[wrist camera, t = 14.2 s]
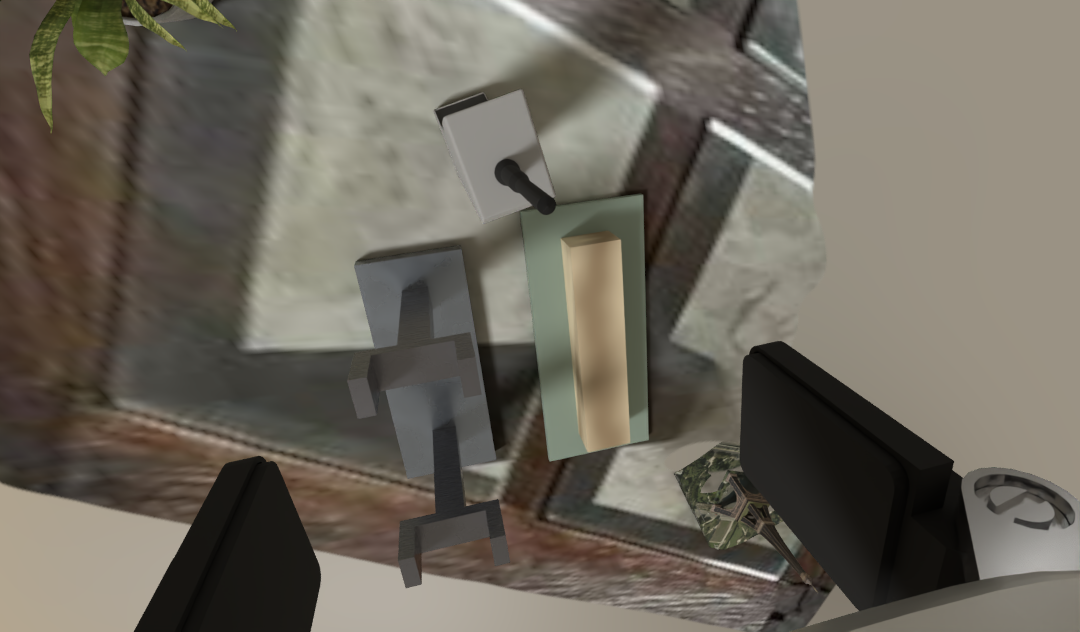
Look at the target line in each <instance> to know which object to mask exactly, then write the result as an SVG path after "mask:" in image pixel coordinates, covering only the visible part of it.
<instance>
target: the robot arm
mask: <svg viewBox="0 0 1080 632" xmlns="http://www.w3.org/2000/svg"><path fill="white" fill-rule="evenodd" d="M740 463H741V467H742V470H743V472H744V474H745V475H746V476H747V478H748V479H749V480H750V481H751V483H752V484H753V485H754V486H755V487H756V489H757V490H758V491H759V492H760V493H761V495H762V496H763V497H764V498H765V499H766V501H767V502H768V503H769V504H770V505H771V507H772V508H773V509H774V510H775V511H776V513H777V514H778V515H779V516H780V517H781V519H782V520H783V521H784V522H785V523H786V524H787V526H788V527H789V528H790V529H791V530H792V532H793V533H794V534H795V535H796V536H797V538H798V539H799V540H800V541H801V542H802V544H803V545H804V546H805V547H806V548H807V550H808V551H809V552H810V553H811V554H812V556H813V557H814V558H815V559H816V560H817V562H818V563H819V564H820V565H821V566H822V568H823V569H824V570H825V571H826V572H827V574H828V575H829V576H830V577H831V578H832V580H833V581H834V582H835V583H836V584H837V586H838V587H839V588H840V589H841V590H842V592H843V593H844V594H845V595H846V596H847V598H848V599H849V600H850V601H851V602H852V604H853V605H854V606H855V607H856V608H857V609H858V610H859V611H858V612H855V613H852V614H848V615H845V616H841V617H838V618H835V619H831V620H828V621H824V622H821V623H818V624H814V625H811V626H807V627H804V628H800V629H797V630H793V631H790V632H1080V502H1079V501H1078V500H1077V499H1076V498H1075V497H1074V496H1072V495H1071V494H1070V493H1069V492H1068V491H1066V490H1064V489H1062V488H1061V487H1059V486H1057V485H1055V484H1054V483H1052V482H1050V481H1048V480H1045V479H1042V478H1040V477H1037V476H1035V475H1032V474H1029V473H1025V472H1021V471H1017V470H1013V469H1006V468H996V467H991V468H980V469H977V470H974V471H971V472H969V473H968V474H967V475H966V476H965V477H964V478H962V477H961V476H960V475H958V474H957V473H955V472H954V471H953V470H952V468H953V463H954V461H953V460H952V459H950V458H949V457H947V456H946V455H944V454H943V453H942V452H940V451H939V450H937V449H936V448H934V447H933V446H932V445H930V444H929V443H927V442H926V441H924V440H923V439H922V438H920V437H919V436H917V435H916V434H914V433H913V432H912V431H910V430H908V429H907V428H906V427H904V426H903V425H902V424H900V423H899V422H897V421H896V420H894V419H893V418H891V417H890V416H889V415H887V414H886V413H884V412H883V411H882V410H880V409H879V408H877V407H876V406H874V405H873V404H871V403H870V402H868V401H867V400H866V399H864V398H863V397H862V396H860V395H859V394H857V393H856V392H854V391H853V390H851V389H850V388H849V387H847V386H846V385H844V384H843V383H841V382H840V381H839V380H837V379H836V378H834V377H833V376H832V375H830V374H829V373H827V372H826V371H824V370H823V369H821V368H820V367H819V366H817V365H816V364H814V363H813V362H811V361H810V360H809V359H807V358H806V357H804V356H803V355H801V354H800V353H799V352H797V351H796V350H794V349H793V348H791V347H790V346H789V345H787V344H786V343H784V342H782V341H777V342H772V343H767V344H763V345H758V346H754V347H753V348H751V350H750V353H749V355H746V356H745V357H744V359H743V376H742V406H741V435H740ZM320 582H321V573H320V566H319V563H318V561H317V558H316V556H315V553H314V551H313V549H312V546H311V544H310V542H309V539H308V537H307V534H306V532H305V530H304V527H303V525H302V523H301V520H300V518H299V515H298V513H297V511H296V508H295V506H294V504H293V501H292V499H291V496H290V494H289V492H288V489H287V487H286V484H285V482H284V480H283V477H282V475H281V473H280V470H279V468H278V466H277V464H276V463H275V462H273V461H270V462H266V460H265V459H264V458H263V457H261V456H256V457H252V458H247V459H243V460H238V461H234V462H229V463H227V464H225V465H224V467H223V468H222V470H221V472H220V473H219V475H218V477H217V479H216V481H215V483H214V485H213V486H212V488H211V490H210V492H209V494H208V496H207V498H206V499H205V501H204V503H203V505H202V507H201V509H200V511H199V513H198V514H197V516H196V518H195V520H194V522H193V524H192V526H191V527H190V529H189V531H188V533H187V535H186V537H185V539H184V541H183V543H182V544H181V546H180V548H179V550H178V552H177V554H176V555H175V557H174V559H173V560H172V562H171V563H170V565H169V567H168V569H167V571H166V573H165V575H164V577H163V579H162V580H161V582H160V584H159V586H158V588H157V589H156V591H155V593H154V595H153V597H152V599H151V601H150V603H149V605H148V606H147V608H146V610H145V612H144V614H143V616H142V617H141V619H140V621H139V623H138V625H137V627H136V628H135V630H134V632H310V631H311V626H312V622H313V617H314V612H315V607H316V603H317V598H318V593H319V588H320Z"/></svg>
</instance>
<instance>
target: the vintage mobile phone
mask: <svg viewBox="0 0 1080 632" xmlns="http://www.w3.org/2000/svg"><path fill="white" fill-rule="evenodd" d="M434 114H435V116H436V119H437V122H438V124H439V127H440V129H441V132H442V135H443V137H444V140H445V142H446V145H447V147H448V150H449V153H450V155H451V158H452V160H453V163H454V166H455V168H456V171H457V173H458V176H459V178H460V180H461V182H462V184H463V186H464V188H465V190H466V192H467V194H468V196H469V198H470V200H471V202H472V204H473V206H474V208H475V210H476V212H477V214H478V216H479V218H480V220H481V222H482V223H483V224H485V223H488V222H490V221H493V220H496V219H498V218H501V217H504V216H506V215H509V214H512V213H514V212H517V211H520V210H522V209H525V208H527V207H530V206H534V207H535V208H536V209H537V210H538V211H539V212H540V213H541V214H543V215H549V214H551V213H553V212H554V210H555V208H556V202H555V200H554V199H553V198H554V197H555V196H556V194H555V191H554V188H553V184H552V181H551V178H550V175H549V172H548V168H547V165H546V162H545V159H544V155H543V152H542V149H541V146H540V143H539V139H538V136H537V133H536V130H535V126H534V123H533V120H532V117H531V114H530V110H529V107H528V104H527V101H526V97H525V94H524V91H523V90H522V89H519V90H516V91H513V92H511V93H508V94H505V95H502V96H500V97H497V98H494V99H491V100H488V98H487V97H486V95H485V93H484V92H482V93H479V94H476V95H473V96H470V97H468V98H465V99H462V100H459V101H457V102H454V103H451V104H448V105H446V106H443V107H440V108H437V109H435V110H434Z"/></svg>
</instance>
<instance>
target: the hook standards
mask: <svg viewBox="0 0 1080 632" xmlns="http://www.w3.org/2000/svg"><path fill="white" fill-rule="evenodd" d="M354 267H355V271H356V275H357V279H358V283H359V287H360V291H361V295H362V299H363V303H364V307H365V311H366V315H367V319H368V323H369V327H370V331H371V335H372V339H373V343H374V347H375V349H372V350H366V351H361V352H355V353H354V356H353V360H352V364H351V368H350V372H349V376H348V380H347V382H348V385H349V389H350V392H351V396H352V400H353V403H354V407H355V410H356V414H357V417H358V419H360V418H365V417H370V416H375V415H377V410H378V402H379V395H380V391H385V390H386V394H387V398H388V402H389V406H390V410H391V414H392V418H393V422H394V426H395V430H396V434H397V438H398V442H399V446H400V450H401V454H402V458H403V462H404V466H405V470H406V474H407V478H408V479H409V478H413V477H418V476H423V475H427V474H432V473H434V482H435V507H436V513H435V514H431V515H426V516H422V517H418V518H413V519H409V520H404V521H400V532H399V553H398V562H399V566H400V569H401V573H402V576H403V580H404V583H405V587H406V588H409V587H412V586H417V585H421V584H422V581H421V580H422V579H421V578H422V567H421V553H423V552H428V551H432V550H436V549H440V548H444V547H449V546H453V545H457V544H461V543H466V542H470V541H474V540H478V539H482V538H487V537H490V541H491V547H492V552H493V557H494V563H495V566H498V565H502V564H506V563H510V559H509V553H508V547H507V541H506V535H505V530H504V525H503V520H502V515H501V510H500V505H499V500H498V499H497V500H492V501H488V502H483V503H479V504H475V505H470V506H466V500H465V491H464V482H463V473H462V467H464V466H469V465H474V464H478V463H483V462H487V461H492V460H496V455H495V449H494V443H493V437H492V431H491V425H490V419H489V413H488V407H487V401H486V395H485V389H484V383H483V377H482V370H481V364H480V358H479V352H478V346H477V340H476V334H475V328H474V322H473V316H472V310H471V304H470V298H469V292H468V285H467V279H466V273H465V267H464V261H463V255H462V249H461V246H460V245H459V246H453V247H446V248H440V249H433V250H427V251H420V252H413V253H407V254H400V255H394V256H387V257H381V258H374V259H368V260H361V261H356V262H355V265H354Z"/></svg>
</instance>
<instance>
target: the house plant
mask: <svg viewBox="0 0 1080 632" xmlns="http://www.w3.org/2000/svg"><path fill="white" fill-rule="evenodd" d="M0 1H1V0H0ZM212 1H213V0H56V2H55V3H54V5H53V6H52V8H51V9H50V11H49V12H48V14H47V15H46V17H45V18H44V20H43V21H42V23H41V25H40V27H39V28H38V30H37V32H36V34H35V36H34V40H33V43H32V47H31V51H30V54H29V56H30V62H31V69H32V74H33V77H34V81H35V84H36V89H37V94H38V100H39V103H40V107H41V111H42V113H43V115H44V116H45V118H46V120H47V122H48V124H49V126H50V128H51V133H52V126H53V121H52V92H51V78H52V66H53V56H54V51H55V47H56V44H57V40H58V37H59V35H60V33H61V31H62V29H63V28H64V26H65V24H66V22H67V21H68V19H69V18H70V16H71V18H72V25H73V27H74V31H73V39H74V44H75V46H76V48H77V49H78V51H79V53H80V54H81V55H82V56H84V57H85V58H86V59H87V60H88V61H89V62H90V63H91V64H92V65H93V66H95V67H96V68H97V69H98V70H100V71H101V72H102V73H103V74H104V75H105V76H106V75H107V72H109V71H110V70H112V69H114V68H116V67H117V66H119V65H121V64H122V63H124V61H125V59H126V57H127V55H128V50H129V41H128V36H127V32H126V29H125V26H124V24H126V25H134V26H144V27H146V28H148V29H149V30H151V31H153V32H155V33H156V34H158V35H159V36H161V37H162V38H164V39H165V40H167V41H168V42H170V43H171V44H173V45H176V46H178V47H181V48H183V49H185V48H184V47H183V46H182V45H181V44H180V43H179V42H178V41H177V40H175V39H174V38H173V37H172V36H171V35H170V34H169V33H168V32H167V31H166V30H165V29H164V28H162V27H161V26H160V25H159V24H158V23H166V22H174V21H182V20H189V19H193V18H195V17H197V18H199V19H202V20H206V21H210V22H213V23H216V24H218V25H220V24H219V23H221V24H222V25H225V26H229V27H232V28H234V29H235V27H234V26H233V25H232V24H231V23H230V22H229V21H228V20H227V19H226V18H225V17H224V16H223V15H222V14H221V13H220V12H219V11H218V10H217V9H216V8H215V7H214V6H213V5H212V4H211V3H212ZM218 22H219V23H218ZM235 30H236V29H235ZM236 31H237V30H236ZM185 50H186V49H185Z"/></svg>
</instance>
